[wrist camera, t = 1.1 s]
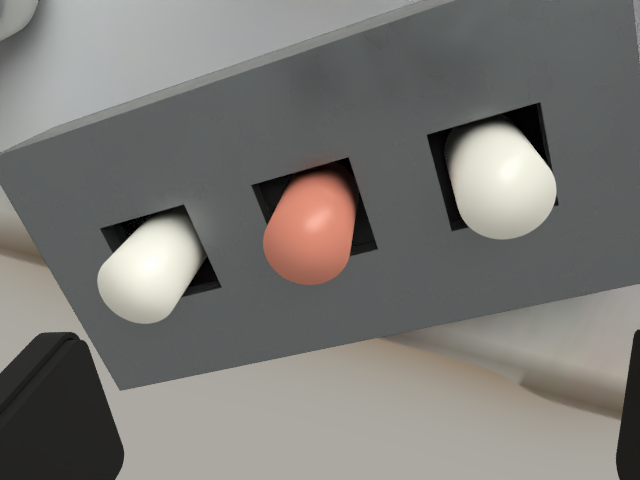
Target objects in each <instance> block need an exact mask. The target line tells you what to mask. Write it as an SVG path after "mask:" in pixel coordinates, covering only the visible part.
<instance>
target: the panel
mask: <svg viewBox="0 0 640 480" xmlns="http://www.w3.org/2000/svg"><path fill="white" fill-rule="evenodd" d="M535 103H536V106H537V111H538V117H539V122H540V128H541V133H542V139H543V144H544V150H545V156H546V161H547V166H548V167H549V168H550V170H551V172H552V173H553V176H554V178H555V182H556V199H555V203H554V206H553V208H552V210H551V212H550V214H549V215H548V217H547V218H546V219H545V220H544V222H543V223H542V224H540V225H539V226H538V227H537V228H536V229H534V230H533V231H531V232H529V233H527V234H525V235H523V236H520V237H517V238H512V239H503V240H502V239H492V238H488V237H485V236H482V235H480V234H478V233H476V232H475V231H473V230H472V229H471V228H470V227H469V226H468V225H467V224H466V223H465V222H464V220H463V219H462V220H458V221H454V222H449V218H448V214H447V210H446V206H445V202H444V199H443V195H442V191H441V187H440V183H439V179H438V176H437V172H436V168H435V164H434V160H433V156H432V153H431V149H430V145H429V141H428V137H427V134H431V133H434V132H438V131H441V130H445V129H448V128H452V127H455V126H459V125H462V124H466V123H469V122H473V121H476V120H480V119H483V118H487V117H490V116H494V115H497V114H500V113H504V112H507V111H511V110H514V109H518V108H521V107H525V106H528V105H532V104H535ZM347 157H349V160H350V163H351V166H352V169H353V172H354V175H355V179H356V182H357V185H358V188H359V191H360V194H361V197H362V200H363V204H364V207H365V210H366V213H367V216H368V219H369V222H370V225H371V228H372V232H373V235H374V238H375V241H373V242H369V243H365V244H361V245H357V246H353V247H351V250H350V256H349V259H348V262H347V264H346V266H345V267H344V269H343V270H342V271H341V272H340V273H339V274H338V275H337V276H336V277H335V278H333V279H331V280H329V281H327V282H325V283H321V284H316V285H303V284H298V283H295V282H292V281H289V280H287V279H285V278H284V277H282V276H281V275H279V274H278V273H277V272H276V271H275V270H274V269H273V268H272V267H271V265H270V264H269V262H268V260H267V258H266V256H265V253H264V248H263V237H264V233H265V230H266V228H267V225H268V223H269V221H270V219H271V215H270V212H269V210H268V207H267V205H266V202H265V200H264V197H263V195H262V192H261V190H260V187H259V184H258V183H260V182H264V181H267V180H271V179H274V178H277V177H281V176H284V175H288V174H291V173H295V172H298V171H302V170H305V169H309V168H312V167H316V166H319V165H323V164H326V163H330V162H333V161H337V160H340V159H344V158H347ZM0 185H1V186H2V188H3V190H4V191H5V193H6V195H7V197H8V198H9V200H10V202H11V204H12V205H13V207H14V209H15V210H16V212H17V214H18V216H19V217H20V219H21V221H22V223H23V224H24V226H25V228H26V229H27V231H28V233H29V235H30V236H31V238H32V240H33V241H34V243H35V245H36V247H37V248H38V250H39V252H40V254H41V255H42V257H43V259H44V260H45V262H46V264H47V266H48V267H49V269H50V271H51V272H52V274H53V276H54V278H55V279H56V281H57V282H58V284H59V286H60V288H61V290H62V291H63V293H64V295H65V297H66V298H67V300H68V302H69V303H70V305H71V307H72V309H73V310H74V312H75V314H76V315H77V317H78V319H79V321H80V322H81V324H82V326H83V328H84V329H85V331H86V333H87V334H88V336H89V338H90V339H91V341H92V343H93V345H94V347H95V348H96V350H97V352H98V354H99V355H100V357H101V359H102V360H103V362H104V364H105V366H106V367H107V369H108V371H109V372H110V374H111V376H112V378H113V379H114V381H115V383H116V385H117V386H118V388H119V390H126V389H131V388H135V387H141V386H146V385H150V384H155V383H160V382H165V381H169V380H174V379H179V378H184V377H189V376H194V375H199V374H203V373H208V372H213V371H218V370H223V369H228V368H233V367H237V366H242V365H247V364H252V363H257V362H262V361H267V360H271V359H277V358H281V357H286V356H291V355H296V354H301V353H305V352H310V351H315V350H320V349H325V348H330V347H334V346H340V345H344V344H349V343H354V342H359V341H364V340H369V339H374V338H378V337H383V336H388V335H393V334H398V333H403V332H407V331H412V330H417V329H422V328H427V327H432V326H437V325H441V324H446V323H451V322H456V321H461V320H466V319H471V318H475V317H480V316H485V315H490V314H495V313H500V312H505V311H509V310H514V309H519V308H524V307H529V306H534V305H538V304H543V303H548V302H553V301H558V300H563V299H568V298H572V297H577V296H582V295H587V294H592V293H597V292H602V291H606V290H611V289H616V288H621V287H626V286H631V285H635V284H640V64H639V55H638V46H637V36H636V27H635V18H634V8H633V0H422V1H419V2H417V3H414V4H411V5H408V6H405V7H402V8H399V9H396V10H393V11H390V12H387V13H385V14H382V15H379V16H376V17H373V18H370V19H367V20H364V21H361V22H358V23H355V24H353V25H350V26H347V27H344V28H341V29H338V30H335V31H332V32H329V33H326V34H323V35H321V36H318V37H315V38H312V39H309V40H306V41H303V42H300V43H297V44H294V45H291V46H289V47H286V48H283V49H280V50H277V51H274V52H271V53H268V54H265V55H262V56H259V57H257V58H254V59H251V60H248V61H245V62H242V63H239V64H236V65H233V66H230V67H228V68H225V69H222V70H219V71H216V72H213V73H210V74H207V75H204V76H201V77H198V78H196V79H193V80H190V81H187V82H184V83H181V84H178V85H175V86H172V87H169V88H166V89H164V90H161V91H158V92H155V93H152V94H149V95H146V96H143V97H140V98H137V99H134V100H132V101H129V102H126V103H123V104H120V105H117V106H114V107H111V108H108V109H105V110H102V111H100V112H97V113H94V114H91V115H88V116H85V117H82V118H79V119H76V120H73V121H70V122H68V123H65V124H62V125H59V126H56V127H53V128H51V129H49V130H47V131H45V132H43V133H41V134H39V135H37V136H34V137H32V138H30V139H28V140H26V141H24V142H22V143H20V144H18V145H15V146H13V147H11V148H9V149H7V150H5V151H3V152H1V153H0ZM183 204H184V205H185V207H186V210H187V212H188V214H189V216H190V218H191V221H192V223H193V225H194V227H195V229H196V232H197V234H198V236H199V238H200V240H201V243H202V245H203V247H204V249H205V252H206V254H207V256H208V258H209V260H210V263H211V265H212V267H213V269H214V271H215V274H216V276H217V278H218V280H216V281H212V282H208V283H204V284H200V285H196V286H192V287H188V288H186V290H185V292H184V293H183V295H182V296H181V298H180V299H179V301H178V302H177V304H176V306H175V307H174V309H173V310H172V312H171V313H170V314H169V315H168V316H167V317H166V318H164V319H163V320H161V321H158V322H155V323H150V324H140V323H134V322H131V321H128V320H126V319H124V318H122V317H120V316H118V315H117V314H115V313H114V312H113V311H112V310H111V309H110V308H109V307H108V306H107V305H106V304H105V302H104V301H103V299H102V297H101V295H100V293H99V290H98V285H97V278H98V273H99V270H100V268H101V266H102V265H103V264H104V263H105V262H106V261H107V260H108V258H109V257H110V256H111V255H112V254H113V253H114V252H115V251H116V250H117V249H118V248H119V247H120V246H121V245H122V244H123V243H124V242H125V241H126V240H127V239H128V237H127V235H126V233H125V231H124V229H123V227H122V225H121V222H124V221H128V220H131V219H135V218H138V217H142V216H145V215H149V214H152V213H156V212H159V211H163V210H166V209H169V208H173V207H176V206H180V205H183Z"/></svg>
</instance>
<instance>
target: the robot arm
mask: <svg viewBox="0 0 640 480" xmlns="http://www.w3.org/2000/svg"><path fill="white" fill-rule="evenodd" d="M123 460H124V449H123V445H122V442H121V440H120V437H119V434H118V431H117V428H116V425H115V422H114V419H113V417H112V414H111V411H110V408H109V405H108V402H107V399H106V396H105V394H104V390H103V388H102V385H101V382H100V379H99V376H98V373H97V370H96V368H95V364H94V362H93V359H92V356H91V353H90V350H89V347H88V345H87V343H86V342H85V341H83V340H80V339H79V337H78V336H77V335H76V334H75V333H72V332H50V333H41V334H39V335H38V336H36V337H35V338H34V339H33V340H32V341H31V342H30V343H29V344H28V345H27V346H26V347H25V349H23V350H22V351H21V353H20V354H19V355H18V356H17V357H16V358H15V359H14V360H13V361H12V362H11V363H10V364H9V365H8V366H7V367H6V368H5V369H4V370H3V371H2V372H1V373H0V480H115V479H116V477H117V475H118V474H119V472H120V470H121V468H122V464H123ZM616 465H617V471H618V476H619V479H620V480H640V330H637V331H636V332H635V334H634V338H633V345H632V352H631V358H630V365H629V372H628V379H627V385H626V392H625V399H624V406H623V412H622V419H621V426H620V433H619V440H618V447H617V453H616Z"/></svg>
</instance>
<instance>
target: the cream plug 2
mask: <svg viewBox="0 0 640 480" xmlns="http://www.w3.org/2000/svg"><path fill="white" fill-rule="evenodd" d="M444 154H445V161H446V165H447V168H448V172H449V176H450V180H451V183H452V187H453V191H454V195H455V199H456V202H457V206H458V210H459V213H460V215H461V217H462V219H463V220H464V222H465V223H466V224H467V225H468V226H469V227H470V228H471V229H472V230H473V231H475V232H476V233H478V234H480V235H482V236H485V237H488V238H492V239H502V240H503V239H512V238H517V237H520V236H523V235H525V234H527V233H529V232H531V231H533V230H534V229H536V228H537V227H538V226H539V225H540V224H542V223H543V222H544V220H545V219H546V218H547V217H548V215H549V214H550V212H551V210H552V208H553V206H554V203H555V199H556V182H555V178H554V176H553V173H552V172H551V170H550V168H549V167H548V166H547V164H546V163H545V162H544V160H543V159H542V158H541V156H540V155H539V154H538V153H537V151H536V150H535V149H534V147H533V146H532V145H531V143H530V142H529V141H528V140H527V138H526V137H525V136H524V134H523V133H522V132H521V131H520V129H519V128H518V127H517V125H516V124H515V123H514V122H513V121H512V120H511V119H509V118H508V117H506V116H504V115H502V114H497V115H494V116H490V117H487V118H483V119H480V120H476V121H473V122H469V123H466V124H462V125H459V126H455V127H454V128H453V129H452V131H451V132H450V134H449V136H448V138H447V140H446V144H445V150H444Z"/></svg>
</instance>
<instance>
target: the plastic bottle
mask: <svg viewBox="0 0 640 480" xmlns="http://www.w3.org/2000/svg"><path fill="white" fill-rule="evenodd" d="M38 1H39V0H0V41H2V40H4V39H5V38H7V37H9V36H11V35H13V34H15V33H17V32H18V31H20V30H22V29H23V28H24V27H25V26H26V25H27V24H28V23H29V22H30V20H31V18H32V17H33V15H34V13H35V11H36V8H37V4H38Z"/></svg>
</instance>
